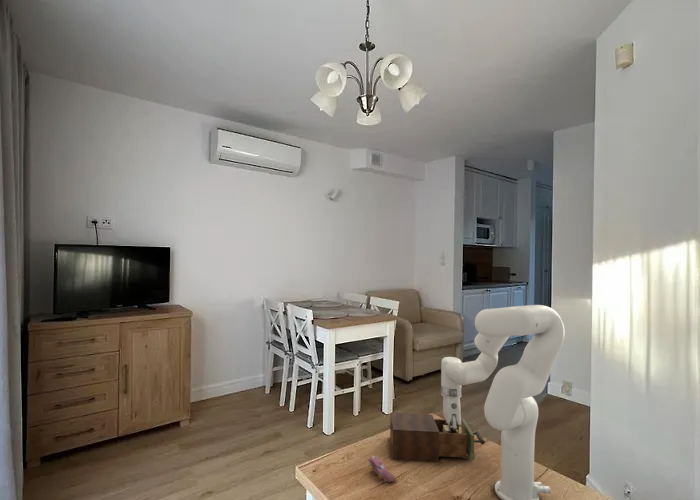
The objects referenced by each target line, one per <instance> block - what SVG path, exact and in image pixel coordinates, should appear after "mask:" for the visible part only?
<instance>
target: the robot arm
mask: <svg viewBox="0 0 700 500" xmlns="http://www.w3.org/2000/svg"><path fill="white" fill-rule="evenodd" d="M474 327H475V330H476V331H477V332H478V333H477V334H476V335H475V337H474V340H473V341H474V345H475V347H476V348H477V350H479V352H480V354H479V355H478V357H477V358H476V359H475V360H471V361H465V362H462V360H461V359H460V358H458V357H455V356H444V357H443V358H442V359H441V363H440V365H441V366H440V367H441V369H440V372H441V373H440V395H441V396H442V415H443V419H445V425H448V427H449V432H448V433H457V425H456V422H457V424H458V425H459V426H461V420H462V411H461V407H462V406H461V399H460V398H462V392H463V391H462V389H463V387H462V386H467V385H472V384H476V383H481V382H484V381H486V380H487V379H488V378H489V377H490V376H491V375H492V374H493V372H494V371H495V370H496V368H497V366H498V363H499V352H500V351H501V349H502V348H503V346H504V345H505V343H506V342H507V341H508V340H509V338H510V337H521V336H530V335H532V337H531V339H530V340H529V341H528V343H526V346H525V347H524V350H523V351H522V355H521V357H520V359H519V361H518V362H517V363H515V364H511V365H507V366H503V367H502V368H500V369H499V370H498V371H497V372H496V373H495V375H494V377H493V379H492V382H491V384H490V387H489V391H488V393H487V396H486V398H485V401H484V406H483V413H484V417H485V420H486V421H487V423H488V425H489V426H490V427H492V428H493V429H494V430H497V431H501V433H500V469H499V471H500V473H499V480H497V481H496V482H495V484H494V492H495V494H496V495H497V497H498V498H499V499H500V500H540V494H551V492H552V491H551V487H550V486H549V485H543V483H542V481H535V448H536V447H535V445H536V444H535V442H536V430H537V425H538V419H539V406H538V403H537V401H536V399H535V398H534V397H535V396H538V395H540V394H541V393H543V391H544V390H545V387H546V385H547V382H548V380H549V378H550V376H551V373H552V371H553V369H554V366H555V363H556V361H557V359H558V356H559V354H560V352H561V350H562V347H563V345H564V341H565V336H566V331H565V330H566V328H565V324H564V322H563V320H562V318H561V316H560V314H559V313H558V312H557V311H556V310H555V309H553V308H552V307H549V306H547V305H543V304H527V305H515V306H505V307H497V308H496V307H495V308H485V309H482V310H480V311H479V312H478V313H477V314H476V316H475V318H474ZM451 426H452V427H451Z"/></svg>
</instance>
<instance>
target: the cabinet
mask: <svg viewBox="0 0 700 500" xmlns="http://www.w3.org/2000/svg"><path fill="white" fill-rule="evenodd" d="M434 419H435V417H434V414H426V413H405V412H390V422H389V423H390V425H389V426H390V427H389V431H390V432H389V441H390V442H389V443H390V451H391V457H392V460H402V461H403V460H404V461H419V462H439V461H440V456H439V430H438V427H437V425H436V422H435V420H434Z"/></svg>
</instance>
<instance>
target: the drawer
mask: <svg viewBox="0 0 700 500" xmlns="http://www.w3.org/2000/svg"><path fill="white" fill-rule="evenodd" d="M434 420H435V422H436V425H437V427H438V430H439V457H444V458H445V457H448V458H465V459H467V456H468V457H469V459H470V460H471V461H474V460H475V443H480V444H481V445H485V444H486V441H485V439H484V438H483V436H482V435H481V433H480V431H477V430H476V431H473V430H472V428H471V427H470V426H469V424H468V423H467V421H466V419H465V418H461V425H458V424H457V422H456V425H457V430H458V433H443V425H445V418H434ZM460 427H461V428H460ZM475 436H476V438H477V439H475Z"/></svg>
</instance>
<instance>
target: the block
mask: <svg viewBox="0 0 700 500" xmlns="http://www.w3.org/2000/svg"><path fill="white" fill-rule="evenodd" d="M451 427H452V426H451ZM448 432H449V427H448V425H443V433H448ZM457 433H458V430H457Z"/></svg>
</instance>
